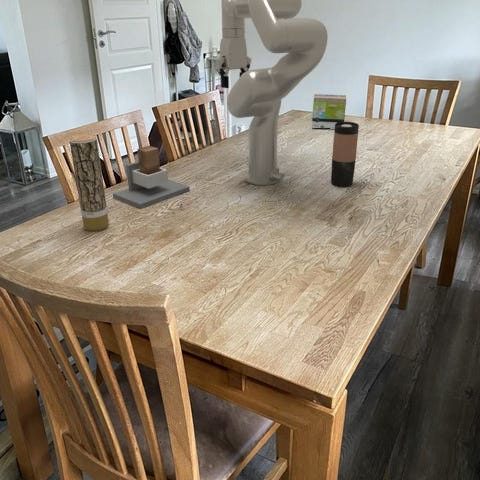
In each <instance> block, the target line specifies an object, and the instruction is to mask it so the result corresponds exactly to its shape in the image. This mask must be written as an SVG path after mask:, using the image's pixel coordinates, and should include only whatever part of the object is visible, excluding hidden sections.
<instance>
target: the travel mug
mask: <svg viewBox="0 0 480 480" xmlns="http://www.w3.org/2000/svg"><path fill="white" fill-rule="evenodd" d="M359 127H360V126H359V124H358V123H356V122H352V121H344V122H338V123H336V124H335V130H333V131H334V132H333V144H332V155H331V171H330V173H331V177H330V178H331V179H330V183H331V185H332V186H334V187H336V186H337V188H349V187H351V186H353V183H354V177H355V169H356V168H355V167H356V162H357V161H356V159H357V148H358V139H359V138H358V137H359V129H360V128H359Z"/></svg>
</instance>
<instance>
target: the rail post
mask: <svg viewBox="0 0 480 480" xmlns="http://www.w3.org/2000/svg"><path fill="white" fill-rule="evenodd" d="M159 153H160V152H159V148H158V147H154V146H152V145H147V146H144V147H143V146H142V147H140V148H139V147H138V148H137V159H138V161H139V169H140V173H143V174H146V175H150V174H153V173H156V172H160V168H161V167H160V155H159Z"/></svg>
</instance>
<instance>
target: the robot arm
mask: <svg viewBox="0 0 480 480" xmlns="http://www.w3.org/2000/svg"><path fill="white" fill-rule="evenodd" d="M301 8H302V0H221V21H222V22H221V24H222V25H221V26H222V29H221V30H222V38H221V39H220V43H219V54H218V55H219V56H218V60H217V62H215V68H216V71H217V73H218V75H219V76H220V88H223V89H229V88H230V87H229V86H230V82H229V78H230V77H229V76H228V74H229V73H230V71H234V70H239V78H238V79H237V81H236V82H235V83H234V85H233V86H232V87H231V88H230V90H229V93H228V94H227V99H226V106H227V110H228V112H229V113H230V115H231V116H232V117H234V118H236V119H243V118H251V117H252V119H251V121H250V124H249V128H248V172H247V173H245V175H243V176H244V178H243V179H244V182H246V183H249V184H251V185H255V186H257V185H258V186H270V185H275V184H277V183H279V182H282V181H283V180H284V177H285V173H284V172H283V173H282V172H280V167H277V165H278V164H277V163H278V161H277V160H278V127H279V116H280V110H281V107H282V100H283V99H284V98H286V97H287V96H288V95H289V94H290V93H291V92H292V91H293V90H294V89H295V88H296V87H297V86H298V85H299V84H300V83H301V82H302V80H303V79H304V78H306V77H307V76H308V75H309V74H311V72H313V71H314V70H315V69H316V67H317V66H318V65H319V64H320V62H321V61H322V59H323V57H324V55H325V52H326V49H327V45H328V40H329V39H328V36H329V35H328V30H327V27H326V26H325V24H324V23H323V22H322V21H320V20H318V19H315V18H309V17H296V16H297V15H298V14H299V12H300V10H301ZM245 19H251V21H252V23H253V26H254V27H255V29H256V32H257V33H258V36H259V38H260V40H261V42H262V45H263V46H264V48H265V49H266V51H268V52H270V53H272V54H285V55H283V56H282V57H281V58H280V59H279V60H278V61H277V62H276V64H274V66H271V67H267V68H266V67H265V68H256V69H254V68H253V69H250V68H251V63H252V57H249V56H248V50H247V49H248V48H247V41H246V37H245V35H246V34H245V33H246V31H245V28H246V27H245V21H246V20H245Z"/></svg>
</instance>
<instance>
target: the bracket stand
mask: <svg viewBox="0 0 480 480" xmlns="http://www.w3.org/2000/svg"><path fill="white" fill-rule="evenodd" d="M125 166H126V167H125V168H126V174H127V183H128V187H127V188H125V189H121V190H118V191H116V192H113V193H112V198H113V199H115V200H118V201H121V202H122V203H125V204H127V205H131V207H135V208H137V209H140V210H141V209H144V208H147V207H149V206H152V205H154V204H155V205H156V204H158V203H160V202H163V201H167V200H168V199H171V198H174V197H177V196H180V195H183V194H186V193H188V192H190V191H191V190H190V186H189V185H186V184H182V183H181V182H176V181H173V180H170V179H169V171H168V169H167V168H162V167H160V172H156V173H153V174H150V175H146V174H143V173H140V169H139V160H137V161H135V162H132V163H128V164H126V165H125Z"/></svg>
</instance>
